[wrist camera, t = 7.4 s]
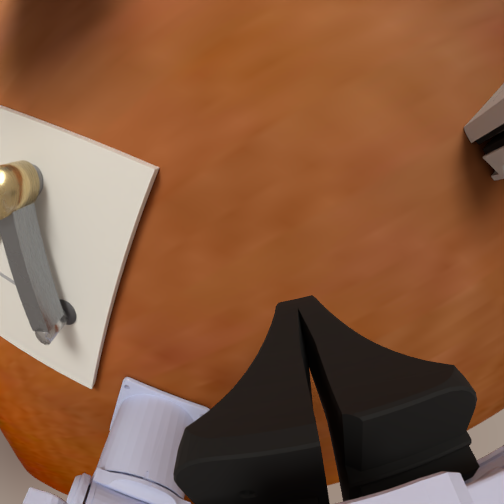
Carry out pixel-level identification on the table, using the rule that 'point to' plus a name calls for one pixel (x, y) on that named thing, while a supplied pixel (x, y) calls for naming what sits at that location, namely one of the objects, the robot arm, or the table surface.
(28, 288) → the divider leg
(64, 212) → the plate
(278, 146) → the table surface
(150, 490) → the robot arm
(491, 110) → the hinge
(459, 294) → the table surface
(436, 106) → the table surface
